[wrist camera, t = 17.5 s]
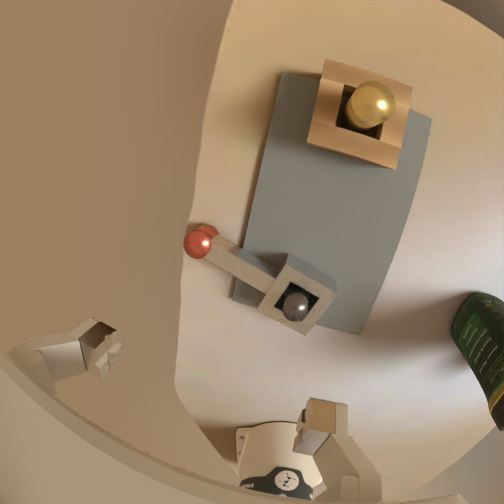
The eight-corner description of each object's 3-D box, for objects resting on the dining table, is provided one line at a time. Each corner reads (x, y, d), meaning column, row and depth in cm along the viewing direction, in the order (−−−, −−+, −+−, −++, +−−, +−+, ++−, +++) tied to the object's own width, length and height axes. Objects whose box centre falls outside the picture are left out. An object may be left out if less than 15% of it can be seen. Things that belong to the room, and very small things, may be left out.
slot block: (384, 168, 24) (395, 170, 20) (307, 144, 25) (306, 141, 21) (399, 96, 21) (412, 87, 17) (323, 71, 22) (325, 58, 18)
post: (305, 299, 31) (303, 324, 26) (285, 294, 31) (279, 317, 26) (311, 281, 30) (311, 304, 25) (290, 275, 30) (286, 297, 25)
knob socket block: (336, 280, 29) (337, 294, 26) (306, 320, 31) (305, 336, 28) (207, 207, 29) (195, 213, 26) (187, 252, 32) (174, 262, 29)
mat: (358, 332, 31) (358, 334, 31) (233, 297, 33) (231, 300, 33) (429, 119, 22) (431, 118, 21) (283, 73, 24) (282, 72, 23)
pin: (366, 137, 23) (391, 127, 15) (337, 128, 24) (350, 113, 16) (372, 109, 22) (398, 89, 14) (343, 100, 23) (357, 75, 14)
